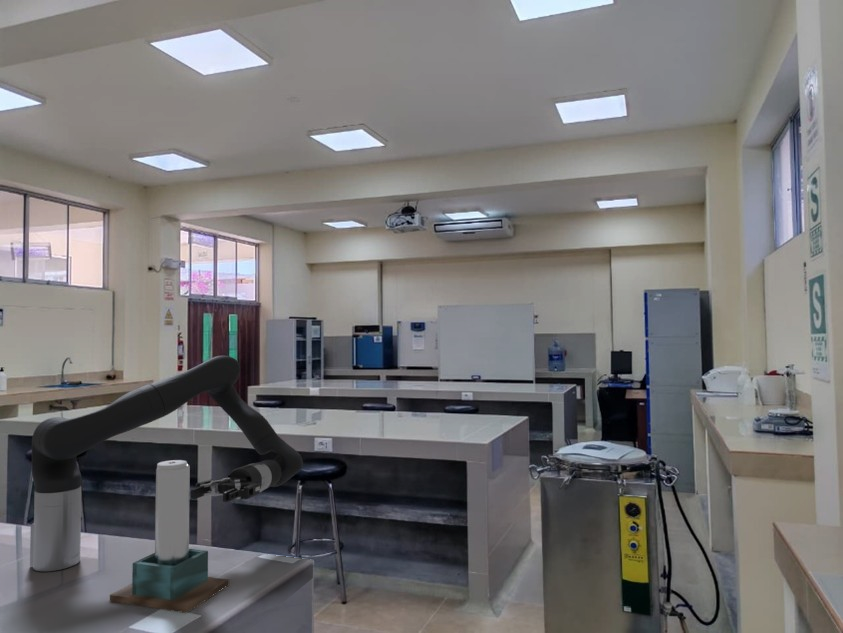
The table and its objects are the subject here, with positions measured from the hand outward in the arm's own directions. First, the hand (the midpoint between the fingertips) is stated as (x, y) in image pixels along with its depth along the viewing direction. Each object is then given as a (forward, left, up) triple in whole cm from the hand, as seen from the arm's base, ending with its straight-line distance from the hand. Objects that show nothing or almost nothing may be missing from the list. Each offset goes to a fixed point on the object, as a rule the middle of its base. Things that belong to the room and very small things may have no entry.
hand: (208, 496), depth 133 cm
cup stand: (+1, -12, -16) cm, 20 cm away
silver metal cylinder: (+1, -12, -15) cm, 19 cm away
